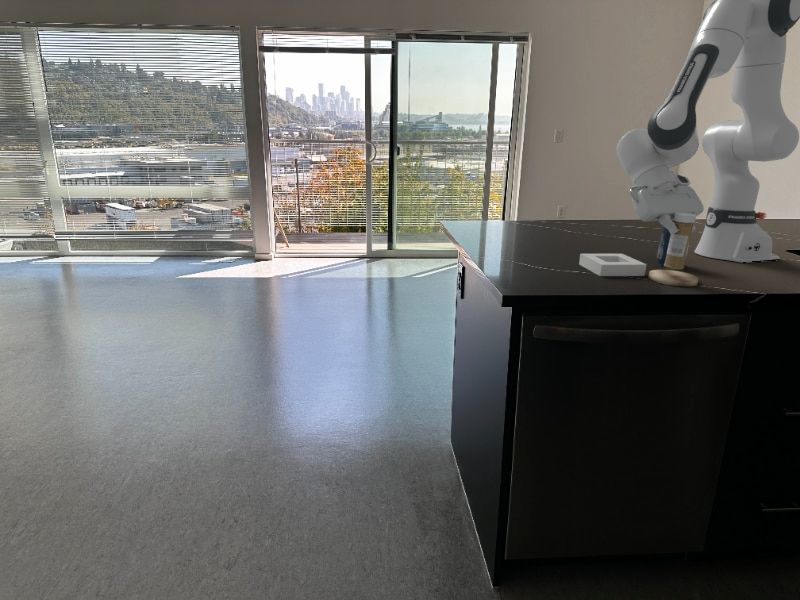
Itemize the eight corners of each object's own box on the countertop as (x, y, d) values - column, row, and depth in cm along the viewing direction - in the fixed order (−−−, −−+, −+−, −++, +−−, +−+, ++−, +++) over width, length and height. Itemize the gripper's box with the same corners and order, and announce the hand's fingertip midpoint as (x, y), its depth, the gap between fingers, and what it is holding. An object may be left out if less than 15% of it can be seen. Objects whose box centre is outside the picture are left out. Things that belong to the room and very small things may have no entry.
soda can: (688, 266, 140) (697, 223, 137) (674, 269, 137) (683, 225, 133) (664, 260, 146) (672, 219, 142) (650, 263, 142) (658, 221, 139)
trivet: (679, 274, 132) (679, 269, 132) (707, 286, 122) (708, 281, 121) (639, 274, 131) (640, 269, 130) (665, 286, 121) (666, 281, 120)
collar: (620, 264, 141) (621, 253, 140) (644, 275, 130) (646, 264, 129) (579, 264, 139) (580, 253, 139) (600, 276, 128) (601, 264, 127)
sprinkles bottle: (687, 268, 125) (700, 214, 121) (678, 271, 122) (691, 215, 118) (668, 264, 128) (680, 211, 124) (659, 266, 126) (671, 212, 121)
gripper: (636, 178, 120) (665, 226, 115) (692, 177, 129) (721, 222, 124) (618, 195, 125) (644, 242, 120) (673, 193, 134) (699, 237, 129)
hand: (683, 232), depth 122 cm, fingers closed on sprinkles bottle, 4 cm apart
